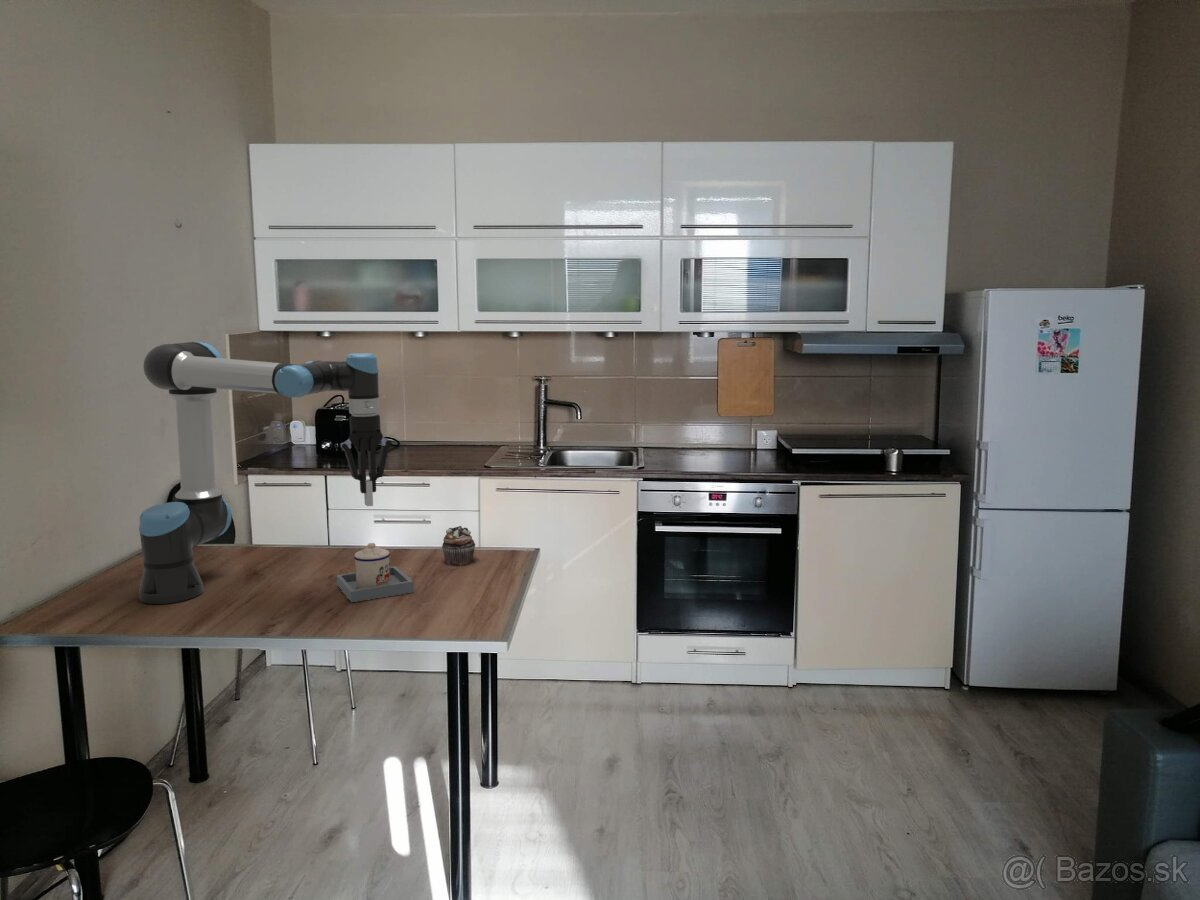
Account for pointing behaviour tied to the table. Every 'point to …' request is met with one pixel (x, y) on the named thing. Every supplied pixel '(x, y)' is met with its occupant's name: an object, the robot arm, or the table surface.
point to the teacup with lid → (372, 567)
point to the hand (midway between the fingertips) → (368, 504)
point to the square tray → (397, 586)
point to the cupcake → (458, 546)
